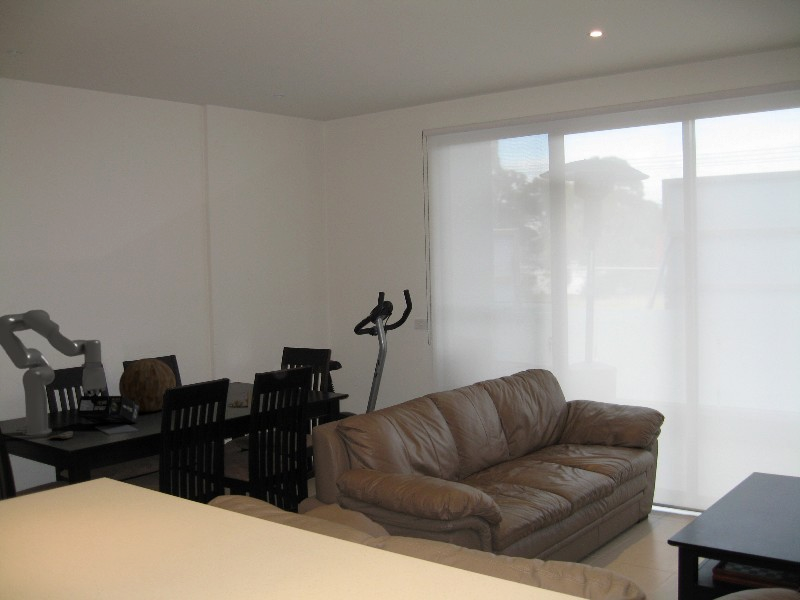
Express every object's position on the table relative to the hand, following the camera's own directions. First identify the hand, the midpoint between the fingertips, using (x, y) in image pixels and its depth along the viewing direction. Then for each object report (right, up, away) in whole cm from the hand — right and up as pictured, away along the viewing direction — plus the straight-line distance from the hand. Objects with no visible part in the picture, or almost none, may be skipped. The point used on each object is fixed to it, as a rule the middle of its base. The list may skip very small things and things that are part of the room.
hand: (94, 403), depth 378 cm
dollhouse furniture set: (+59, -11, +68) cm, 90 cm away
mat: (+8, -13, +6) cm, 17 cm away
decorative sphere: (+8, -13, +56) cm, 58 cm away
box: (0, -2, +7) cm, 7 cm away
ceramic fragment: (-5, -14, -14) cm, 20 cm away
